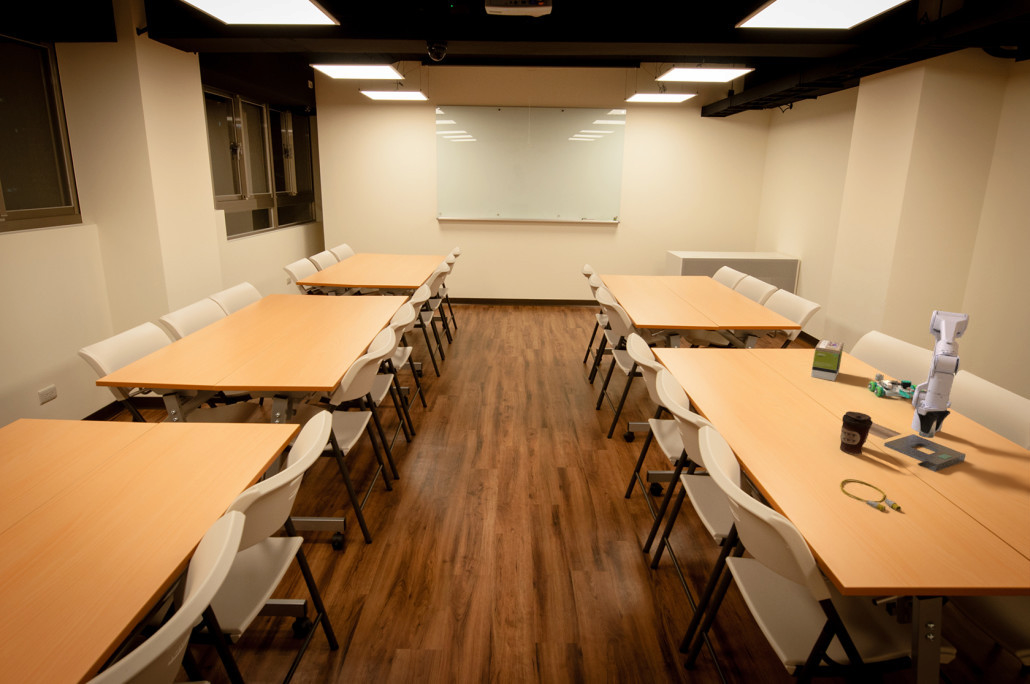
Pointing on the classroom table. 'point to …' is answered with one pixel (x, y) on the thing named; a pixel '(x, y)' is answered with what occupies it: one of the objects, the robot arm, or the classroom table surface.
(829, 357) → the tea box
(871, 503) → the yellow looped cable
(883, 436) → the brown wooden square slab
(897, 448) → the plate
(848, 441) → the coffee cup
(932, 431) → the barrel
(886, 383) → the robot kit
